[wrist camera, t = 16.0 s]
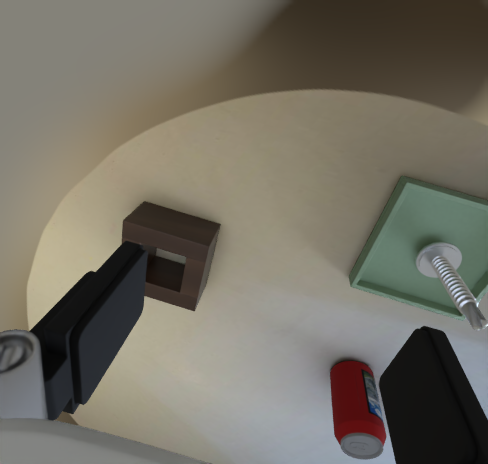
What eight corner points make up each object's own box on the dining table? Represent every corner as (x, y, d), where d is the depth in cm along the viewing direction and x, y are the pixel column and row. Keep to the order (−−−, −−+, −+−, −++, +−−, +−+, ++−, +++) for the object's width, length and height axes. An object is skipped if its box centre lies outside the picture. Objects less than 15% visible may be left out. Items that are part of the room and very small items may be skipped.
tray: (401, 175, 37) (407, 182, 35) (532, 213, 36) (545, 222, 34) (348, 276, 44) (350, 287, 42) (455, 309, 44) (462, 321, 42)
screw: (409, 267, 41) (413, 234, 39) (451, 267, 40) (458, 233, 38) (447, 346, 30) (456, 306, 28) (506, 349, 29) (521, 308, 27)
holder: (144, 201, 44) (122, 220, 39) (220, 224, 44) (209, 246, 39) (138, 263, 50) (118, 287, 45) (206, 284, 49) (194, 311, 44)
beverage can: (370, 386, 54) (385, 465, 44) (328, 382, 55) (333, 458, 45) (374, 358, 51) (392, 436, 40) (330, 355, 52) (336, 429, 42)
